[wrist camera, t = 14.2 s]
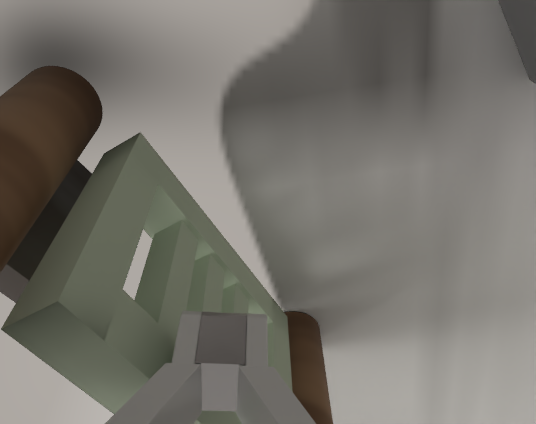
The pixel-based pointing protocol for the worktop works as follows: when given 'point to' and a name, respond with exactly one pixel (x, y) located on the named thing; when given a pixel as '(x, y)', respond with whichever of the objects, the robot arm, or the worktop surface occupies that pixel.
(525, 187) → the worktop surface
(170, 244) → the block
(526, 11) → the rubber block
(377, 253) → the worktop surface
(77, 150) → the post
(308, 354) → the hinge post
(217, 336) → the robot arm
